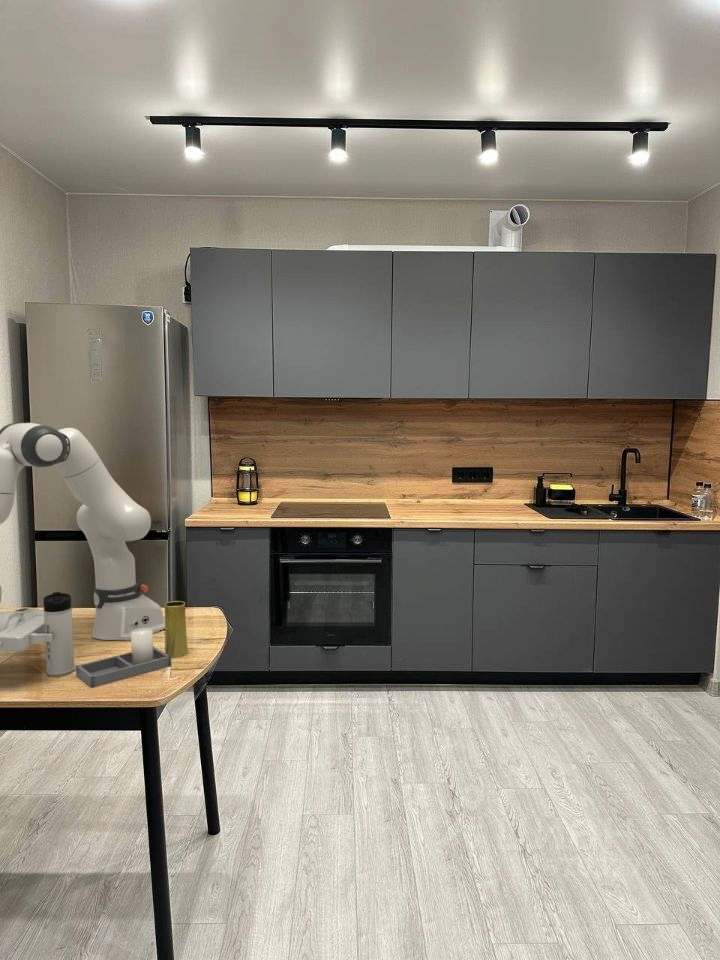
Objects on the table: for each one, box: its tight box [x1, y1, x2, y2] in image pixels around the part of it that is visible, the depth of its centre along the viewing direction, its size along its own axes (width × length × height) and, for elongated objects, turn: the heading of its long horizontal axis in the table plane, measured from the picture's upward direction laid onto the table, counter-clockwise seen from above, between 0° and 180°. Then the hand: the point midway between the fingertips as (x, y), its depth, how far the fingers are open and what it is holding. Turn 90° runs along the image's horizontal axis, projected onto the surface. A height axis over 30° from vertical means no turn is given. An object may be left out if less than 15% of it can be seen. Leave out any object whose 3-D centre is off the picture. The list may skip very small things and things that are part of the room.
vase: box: [164, 600, 189, 659], centre depth 176 cm, size 6×6×14 cm
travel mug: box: [42, 591, 75, 679], centre depth 164 cm, size 6×7×20 cm
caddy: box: [75, 645, 172, 689], centre depth 165 cm, size 20×10×3 cm, turn 132°
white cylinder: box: [130, 628, 154, 665], centre depth 168 cm, size 5×5×9 cm
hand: (62, 630), depth 164 cm, fingers open, 8 cm apart
